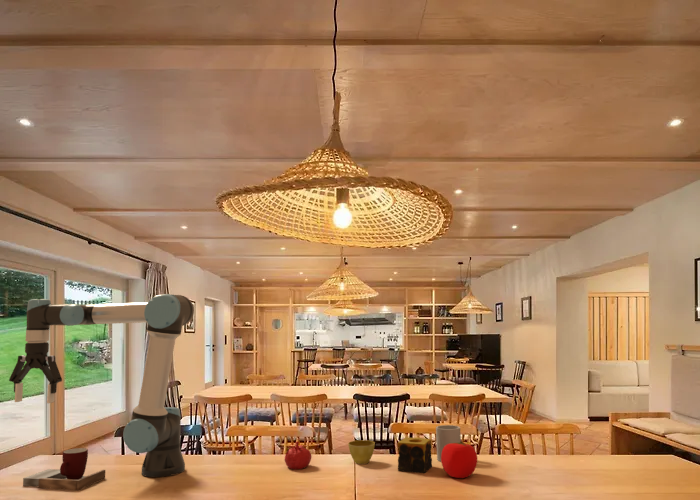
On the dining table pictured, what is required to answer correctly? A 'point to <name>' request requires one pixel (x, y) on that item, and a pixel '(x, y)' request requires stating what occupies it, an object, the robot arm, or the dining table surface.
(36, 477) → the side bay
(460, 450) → the tomato
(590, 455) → the dining table surface
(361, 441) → the flower pot
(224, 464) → the dining table surface
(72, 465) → the mug
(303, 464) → the pomegranate
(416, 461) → the candle
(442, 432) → the cup
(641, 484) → the dining table surface
